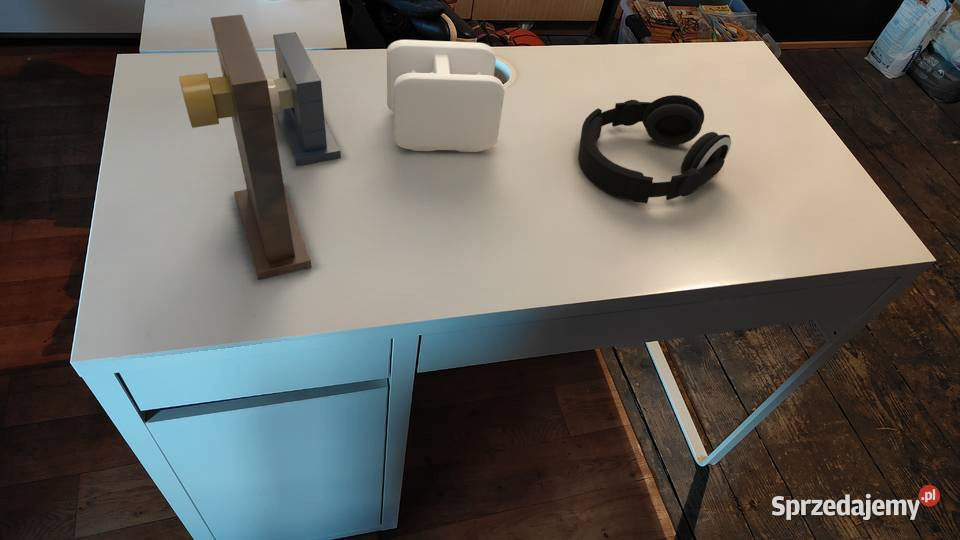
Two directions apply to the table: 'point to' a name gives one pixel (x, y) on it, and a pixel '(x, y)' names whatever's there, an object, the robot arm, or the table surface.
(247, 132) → the panel front
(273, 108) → the knob back
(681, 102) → the headphones
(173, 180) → the table surface
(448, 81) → the cable organizer
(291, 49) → the panel back
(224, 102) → the knob front
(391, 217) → the table surface
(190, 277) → the table surface
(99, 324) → the table surface
